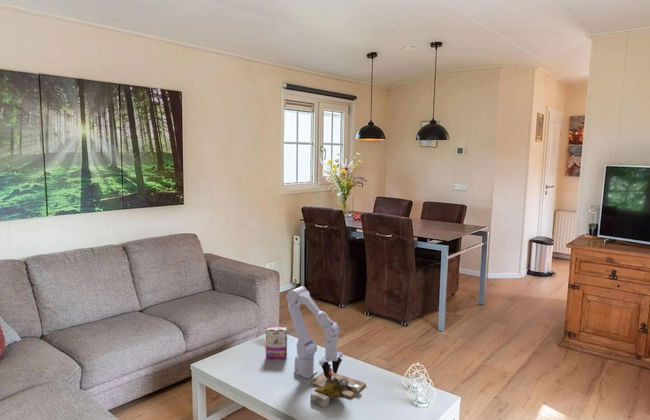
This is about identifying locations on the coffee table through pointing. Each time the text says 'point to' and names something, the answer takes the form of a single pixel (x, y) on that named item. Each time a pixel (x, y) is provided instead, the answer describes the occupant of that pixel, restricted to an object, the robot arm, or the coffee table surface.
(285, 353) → the candy bar box
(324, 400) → the board
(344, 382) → the lever
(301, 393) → the coffee table surface
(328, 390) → the potato
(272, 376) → the coffee table surface
